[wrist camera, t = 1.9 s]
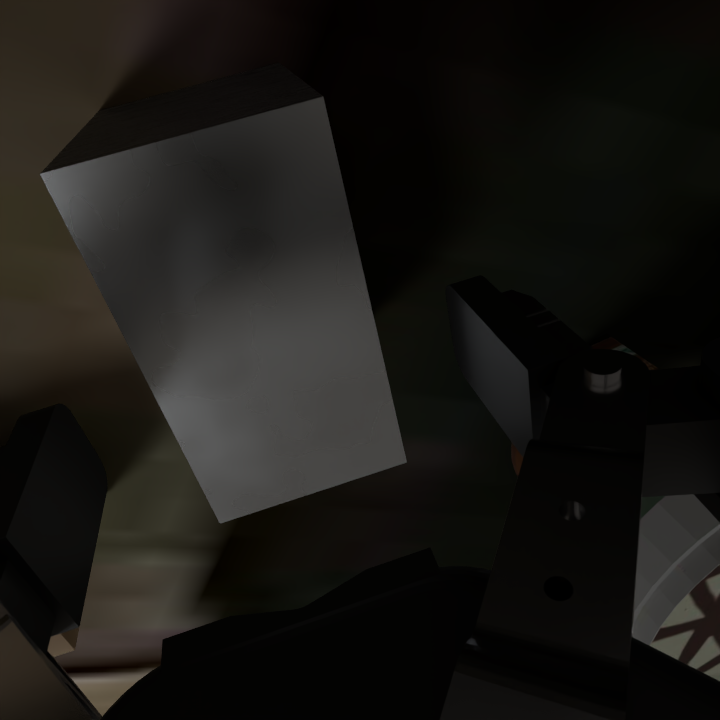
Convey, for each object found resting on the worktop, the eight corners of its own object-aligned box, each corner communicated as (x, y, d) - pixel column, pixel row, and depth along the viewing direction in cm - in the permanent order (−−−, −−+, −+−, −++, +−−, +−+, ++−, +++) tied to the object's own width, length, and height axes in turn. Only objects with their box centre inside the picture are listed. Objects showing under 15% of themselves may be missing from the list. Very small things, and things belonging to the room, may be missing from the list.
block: (99, 110, 16) (40, 174, 10) (278, 62, 16) (322, 96, 10) (214, 376, 21) (219, 523, 15) (349, 335, 21) (406, 462, 15)
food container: (464, 359, 23) (617, 566, 14) (610, 305, 23) (843, 477, 15) (504, 553, 30) (623, 769, 21) (616, 509, 30) (777, 706, 22)
